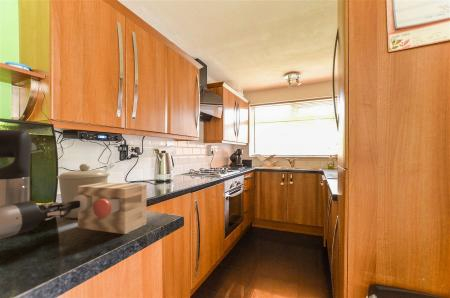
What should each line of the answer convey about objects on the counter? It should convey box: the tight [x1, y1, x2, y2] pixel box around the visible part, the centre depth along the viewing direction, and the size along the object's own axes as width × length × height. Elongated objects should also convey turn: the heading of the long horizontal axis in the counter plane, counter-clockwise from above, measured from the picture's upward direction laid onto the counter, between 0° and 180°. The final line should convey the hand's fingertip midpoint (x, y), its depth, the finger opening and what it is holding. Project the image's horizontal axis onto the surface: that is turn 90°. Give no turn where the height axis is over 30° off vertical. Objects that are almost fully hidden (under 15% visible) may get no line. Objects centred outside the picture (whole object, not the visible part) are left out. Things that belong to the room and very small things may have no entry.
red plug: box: [93, 198, 120, 218], centre depth 67 cm, size 5×9×5 cm, turn 162°
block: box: [77, 182, 147, 235], centre depth 74 cm, size 20×10×14 cm, turn 72°
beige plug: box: [73, 195, 92, 212], centre depth 73 cm, size 5×9×5 cm, turn 162°
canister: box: [56, 163, 111, 219], centre depth 88 cm, size 18×18×21 cm
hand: (78, 203), depth 69 cm, fingers closed
